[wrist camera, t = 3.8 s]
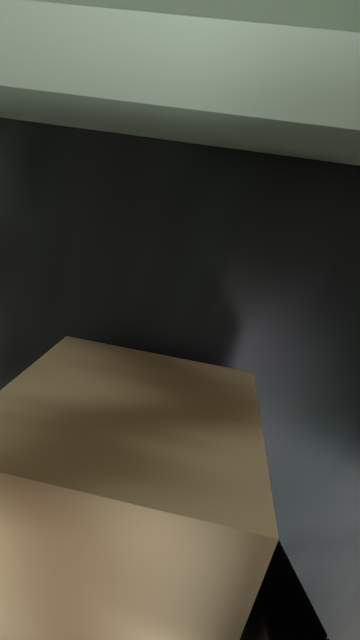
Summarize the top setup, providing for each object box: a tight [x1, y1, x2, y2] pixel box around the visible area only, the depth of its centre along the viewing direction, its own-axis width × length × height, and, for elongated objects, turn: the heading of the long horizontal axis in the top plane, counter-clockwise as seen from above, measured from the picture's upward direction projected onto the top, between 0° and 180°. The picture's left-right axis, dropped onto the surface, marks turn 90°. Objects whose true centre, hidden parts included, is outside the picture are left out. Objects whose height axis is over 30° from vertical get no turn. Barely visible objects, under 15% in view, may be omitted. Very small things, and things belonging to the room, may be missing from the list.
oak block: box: [0, 336, 279, 640], centre depth 8 cm, size 6×6×5 cm
